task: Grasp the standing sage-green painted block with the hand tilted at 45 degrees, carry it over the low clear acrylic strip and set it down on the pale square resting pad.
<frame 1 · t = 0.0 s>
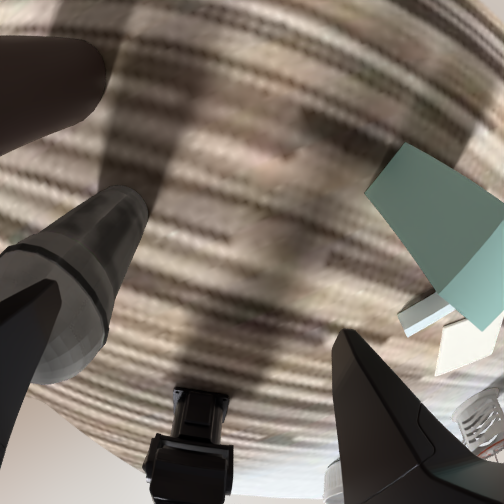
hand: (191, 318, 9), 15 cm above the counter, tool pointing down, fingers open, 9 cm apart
beverage cup: (122, 211, 24), on the counter
ramekin: (355, 463, 48), on the counter
bottle: (70, 82, 18), on the counter
resting pad: (470, 341, 31), on the counter
sage block: (407, 187, 22), on the counter
acrylic strip: (458, 282, 26), on the counter
french press: (471, 407, 40), on the counter
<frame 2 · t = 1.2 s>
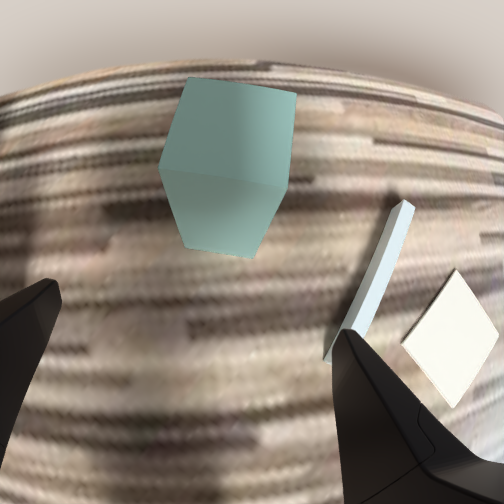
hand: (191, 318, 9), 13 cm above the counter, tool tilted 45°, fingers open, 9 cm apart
resting pad: (456, 339, 24), on the counter
sage block: (224, 221, 24), on the counter
acrylic strip: (368, 282, 24), on the counter
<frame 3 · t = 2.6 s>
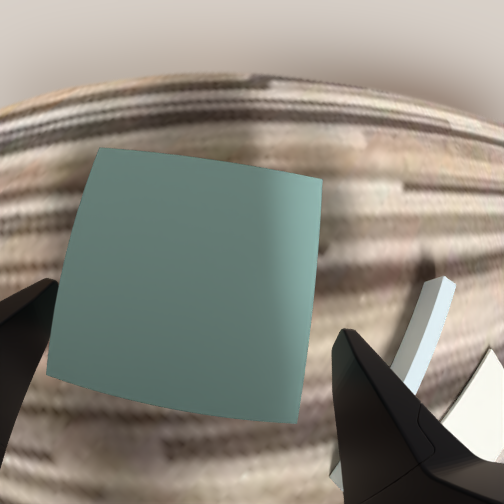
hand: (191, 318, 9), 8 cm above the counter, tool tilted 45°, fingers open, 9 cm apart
resting pad: (481, 427, 17), on the counter
sage block: (205, 314, 17), on the counter
acrylic strip: (391, 383, 17), on the counter
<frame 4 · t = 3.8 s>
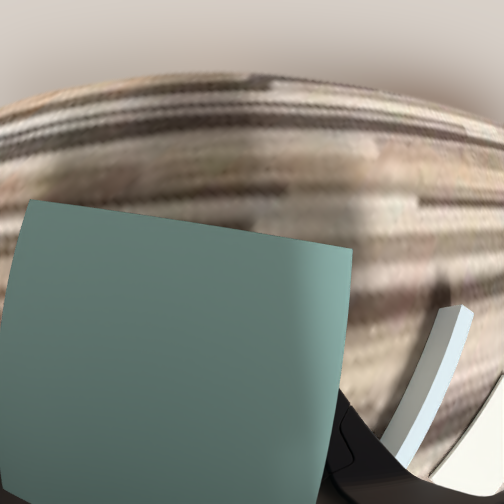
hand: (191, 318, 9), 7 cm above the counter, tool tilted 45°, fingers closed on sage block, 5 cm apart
resting pad: (490, 454, 15), on the counter
sage block: (198, 351, 15), on the counter, touching gripper
acrylic strip: (400, 418, 15), on the counter
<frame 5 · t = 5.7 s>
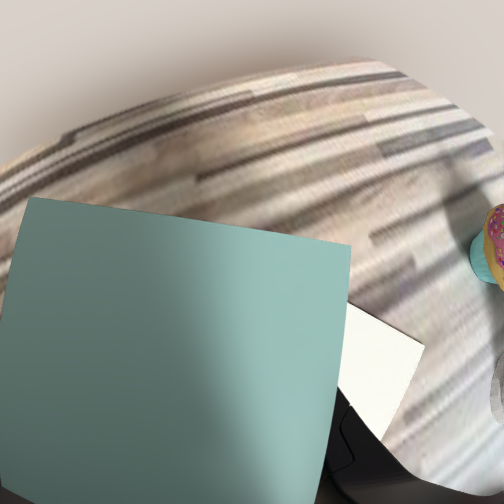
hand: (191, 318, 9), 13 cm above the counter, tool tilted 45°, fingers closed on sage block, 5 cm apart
cupcake: (483, 258, 26), on the counter
resting pad: (359, 376, 22), on the counter
sage block: (197, 350, 15), point 7 cm above the counter, touching gripper
when the fingers open (8 cm above the counter, at t = 7.8 s): sage block drops 1 cm, resting on resting pad.
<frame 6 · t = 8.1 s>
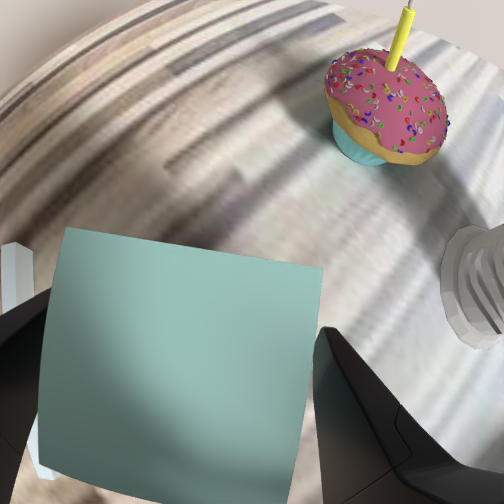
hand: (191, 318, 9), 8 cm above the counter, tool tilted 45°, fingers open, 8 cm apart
cupcake: (362, 139, 22), on the counter
sage block: (200, 348, 17), resting on resting pad
acrylic strip: (34, 362, 15), on the counter
french press: (486, 296, 20), on the counter
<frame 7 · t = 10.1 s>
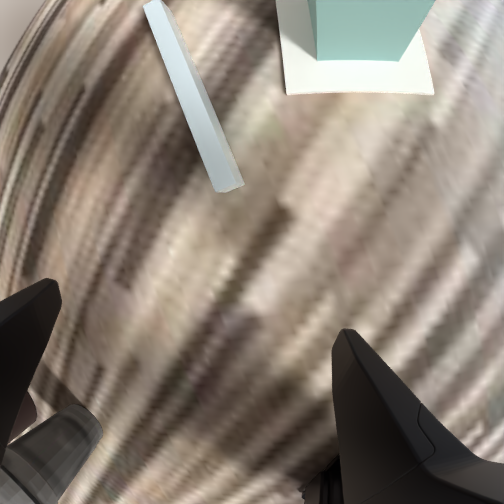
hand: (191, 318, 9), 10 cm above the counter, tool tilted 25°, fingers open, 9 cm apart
beverage cup: (85, 421, 25), on the counter
bottle: (20, 396, 28), on the counter
resting pad: (351, 29, 16), on the counter
sage block: (352, 26, 15), resting on resting pad
acrylic strip: (194, 88, 18), on the counter
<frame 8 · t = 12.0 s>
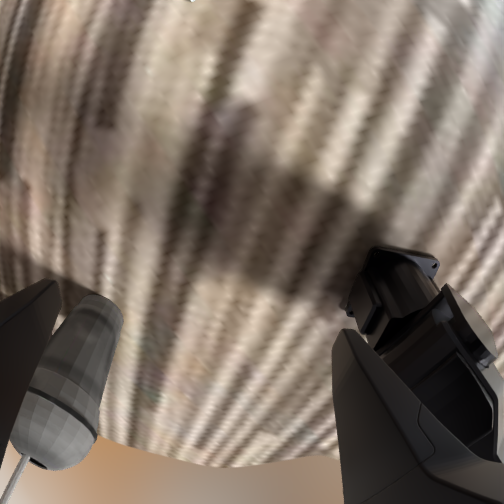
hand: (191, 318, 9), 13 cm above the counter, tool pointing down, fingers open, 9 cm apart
beverage cup: (101, 312, 27), on the counter
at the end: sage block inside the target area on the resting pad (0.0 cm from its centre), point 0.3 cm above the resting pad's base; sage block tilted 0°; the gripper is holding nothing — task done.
